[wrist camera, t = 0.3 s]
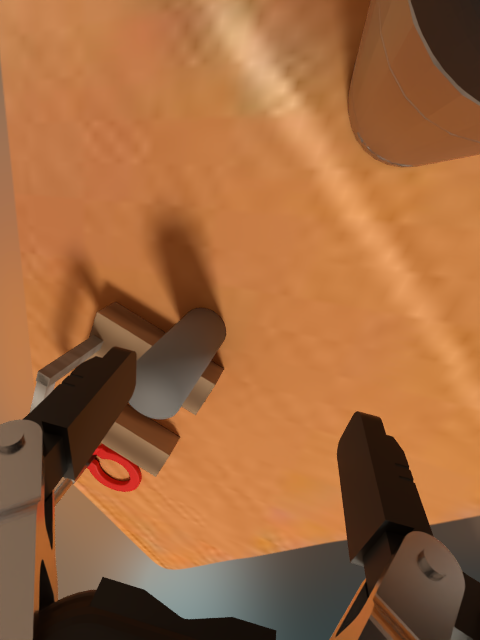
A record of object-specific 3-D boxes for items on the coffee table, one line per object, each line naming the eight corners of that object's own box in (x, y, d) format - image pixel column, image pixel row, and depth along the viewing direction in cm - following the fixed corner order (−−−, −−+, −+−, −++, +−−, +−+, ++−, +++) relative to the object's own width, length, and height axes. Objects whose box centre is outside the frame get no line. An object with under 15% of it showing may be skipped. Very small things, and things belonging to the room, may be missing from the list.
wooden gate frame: (115, 301, 33) (39, 344, 25) (224, 368, 33) (187, 435, 24) (80, 404, 42) (13, 463, 33) (166, 458, 42) (123, 532, 33)
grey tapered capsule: (193, 299, 31) (132, 352, 21) (233, 324, 31) (191, 389, 21) (176, 334, 33) (113, 396, 23) (213, 357, 33) (167, 429, 23)
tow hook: (153, 471, 44) (101, 433, 43) (97, 573, 33) (25, 526, 32) (127, 492, 48) (79, 457, 47) (69, 590, 37) (4, 548, 36)
